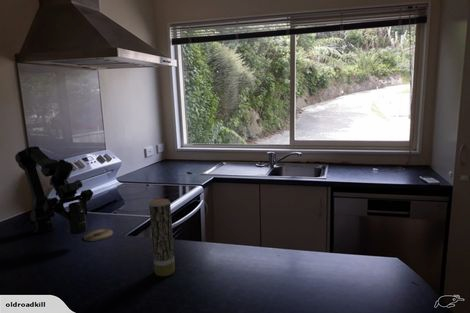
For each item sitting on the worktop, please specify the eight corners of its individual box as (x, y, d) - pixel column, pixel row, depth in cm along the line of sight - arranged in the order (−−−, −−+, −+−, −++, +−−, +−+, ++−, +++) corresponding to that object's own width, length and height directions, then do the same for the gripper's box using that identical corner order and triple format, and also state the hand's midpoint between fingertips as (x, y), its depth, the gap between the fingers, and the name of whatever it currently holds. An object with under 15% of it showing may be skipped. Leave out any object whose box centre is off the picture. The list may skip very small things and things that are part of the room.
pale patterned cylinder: (157, 279, 111) (151, 206, 107) (152, 270, 117) (146, 201, 113) (177, 274, 114) (172, 202, 110) (171, 265, 120) (166, 197, 116)
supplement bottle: (85, 234, 136) (81, 205, 134) (66, 235, 134) (63, 206, 132) (88, 227, 142) (85, 200, 140) (71, 229, 141) (68, 201, 139)
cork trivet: (77, 239, 147) (77, 237, 147) (96, 229, 158) (96, 227, 158) (100, 242, 143) (100, 240, 143) (118, 231, 154) (118, 230, 154)
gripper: (42, 179, 130) (60, 212, 125) (88, 170, 144) (105, 199, 139) (36, 196, 136) (52, 228, 131) (81, 186, 150) (97, 214, 145)
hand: (78, 216), depth 136 cm, fingers closed on supplement bottle, 7 cm apart
